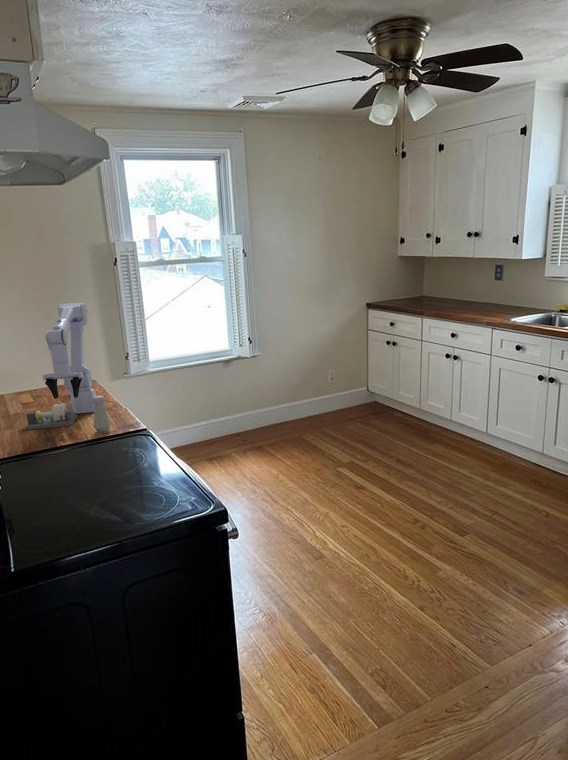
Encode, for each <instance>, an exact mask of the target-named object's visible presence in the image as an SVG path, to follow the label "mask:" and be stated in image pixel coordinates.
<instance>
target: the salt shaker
mask: <svg viewBox="0 0 568 760" xmlns="http://www.w3.org/2000/svg"><path fill="white" fill-rule="evenodd" d="M105 402H106V398H105V395H96V396H95V397H93V398H92V403H93V404H95V406H94V412H93V415H94V416H93V428H94V430H95V431H96V433H97V434H105V433H109V432H110V429H111V425H112V424H111V421H110V418H109V415H108V412H107V409H106V406H105Z"/></svg>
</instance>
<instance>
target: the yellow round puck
mask: <svg viewBox="0 0 568 760" xmlns="http://www.w3.org/2000/svg"><path fill="white" fill-rule="evenodd" d="M39 413H42V412H41V411H40V410H37V411H36V413H35V417H36V420H37V421H40V418H39Z"/></svg>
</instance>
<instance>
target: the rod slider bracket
mask: <svg viewBox="0 0 568 760" xmlns="http://www.w3.org/2000/svg"><path fill="white" fill-rule="evenodd" d="M36 411H38V410H37V409H35V410H29V411H28V412H27V413H26V418H27V425H26V426H25V429H26V430H27V429H28V430H36V429H37V430H39V429H47V428H48V429H49V428H58V427H60V428H61V427H69V426H72V425H73V424H74V422H75V421H76V420H77V419H78V414H74V411H73V408H67V411H64V412H65V416H67V418H66V419H65V420H63V417H62V415H61V416H59V417H60V420H55V421H54V415H53V411H49V412H47V411H46V412H41V413H39V418H40V421H37V420H36V417H35V413H36ZM76 418H77V419H76Z"/></svg>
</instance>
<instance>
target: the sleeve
mask: <svg viewBox="0 0 568 760" xmlns="http://www.w3.org/2000/svg"><path fill="white" fill-rule="evenodd" d="M51 408H52V412H53V415H54V421H55V420H60V417H59V416H61V415H62V417H63V420H65V419H66V418H67V416H65V412H64V411H67V410H68V408H67V404H66V402H65V403H63V402H62V403H55V404H53V406H51Z"/></svg>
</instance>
